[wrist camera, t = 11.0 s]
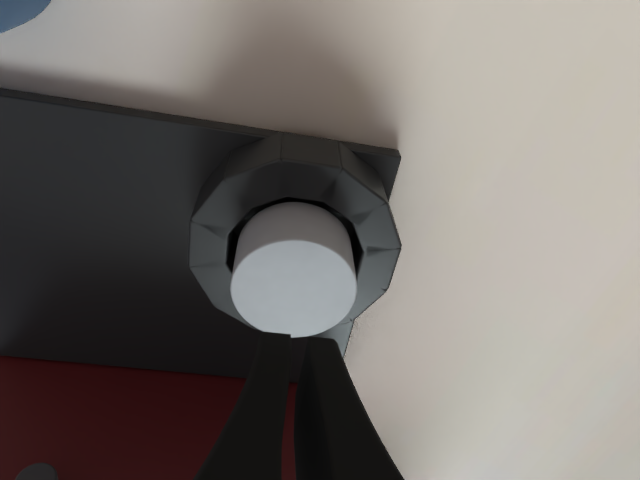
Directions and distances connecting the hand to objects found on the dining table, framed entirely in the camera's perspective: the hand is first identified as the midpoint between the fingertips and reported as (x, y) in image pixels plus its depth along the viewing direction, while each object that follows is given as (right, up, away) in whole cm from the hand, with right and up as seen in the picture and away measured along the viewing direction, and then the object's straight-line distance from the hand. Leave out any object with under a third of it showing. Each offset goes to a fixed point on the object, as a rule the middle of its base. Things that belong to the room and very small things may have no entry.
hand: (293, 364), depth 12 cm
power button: (0, +3, +4) cm, 5 cm away
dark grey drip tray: (-5, +2, +7) cm, 8 cm away
